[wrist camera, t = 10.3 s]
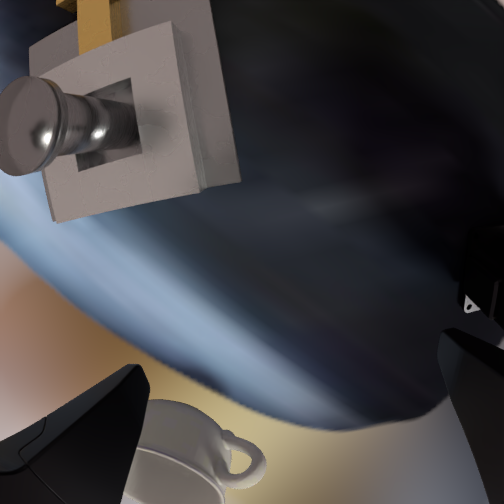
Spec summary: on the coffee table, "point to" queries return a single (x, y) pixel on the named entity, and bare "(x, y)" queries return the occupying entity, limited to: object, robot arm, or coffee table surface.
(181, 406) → the teacup
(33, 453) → the robot arm
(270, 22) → the coffee table surface
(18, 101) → the pin
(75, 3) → the knob backplate
